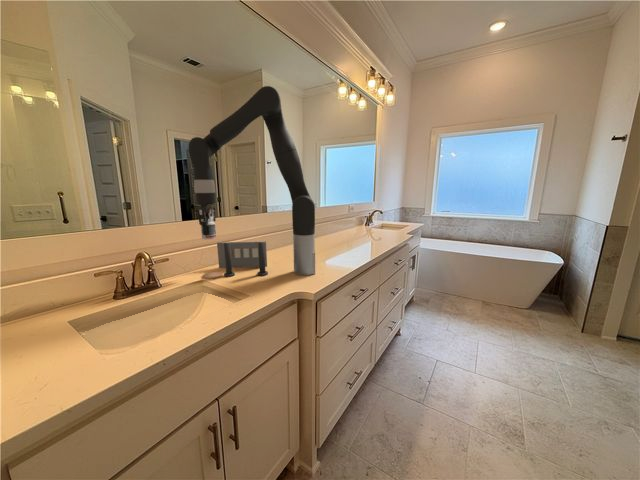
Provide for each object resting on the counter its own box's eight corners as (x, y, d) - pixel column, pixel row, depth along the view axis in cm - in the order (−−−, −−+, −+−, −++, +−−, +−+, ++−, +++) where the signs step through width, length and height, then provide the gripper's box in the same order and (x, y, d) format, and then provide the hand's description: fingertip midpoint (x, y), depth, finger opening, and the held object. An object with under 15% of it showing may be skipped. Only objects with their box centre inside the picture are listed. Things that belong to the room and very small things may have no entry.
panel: (267, 265, 122) (266, 241, 119) (266, 267, 119) (265, 242, 117) (219, 267, 120) (217, 242, 117) (218, 268, 118) (216, 243, 115)
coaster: (224, 272, 112) (224, 271, 112) (219, 278, 104) (219, 277, 104) (206, 273, 112) (206, 272, 111) (199, 279, 104) (199, 278, 104)
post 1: (235, 273, 111) (233, 242, 108) (233, 276, 107) (231, 244, 104) (225, 273, 110) (223, 242, 108) (222, 277, 106) (219, 244, 103)
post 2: (268, 272, 112) (267, 241, 109) (267, 275, 108) (265, 243, 105) (258, 272, 112) (256, 241, 109) (256, 276, 107) (255, 243, 105)
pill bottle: (218, 237, 106) (217, 216, 105) (209, 239, 101) (207, 217, 100) (208, 236, 108) (206, 215, 106) (199, 239, 103) (197, 217, 101)
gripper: (208, 192, 94) (212, 236, 98) (220, 191, 108) (223, 230, 112) (187, 192, 94) (192, 237, 97) (202, 191, 108) (205, 231, 111)
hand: (209, 233), depth 104 cm, fingers closed on pill bottle, 5 cm apart
